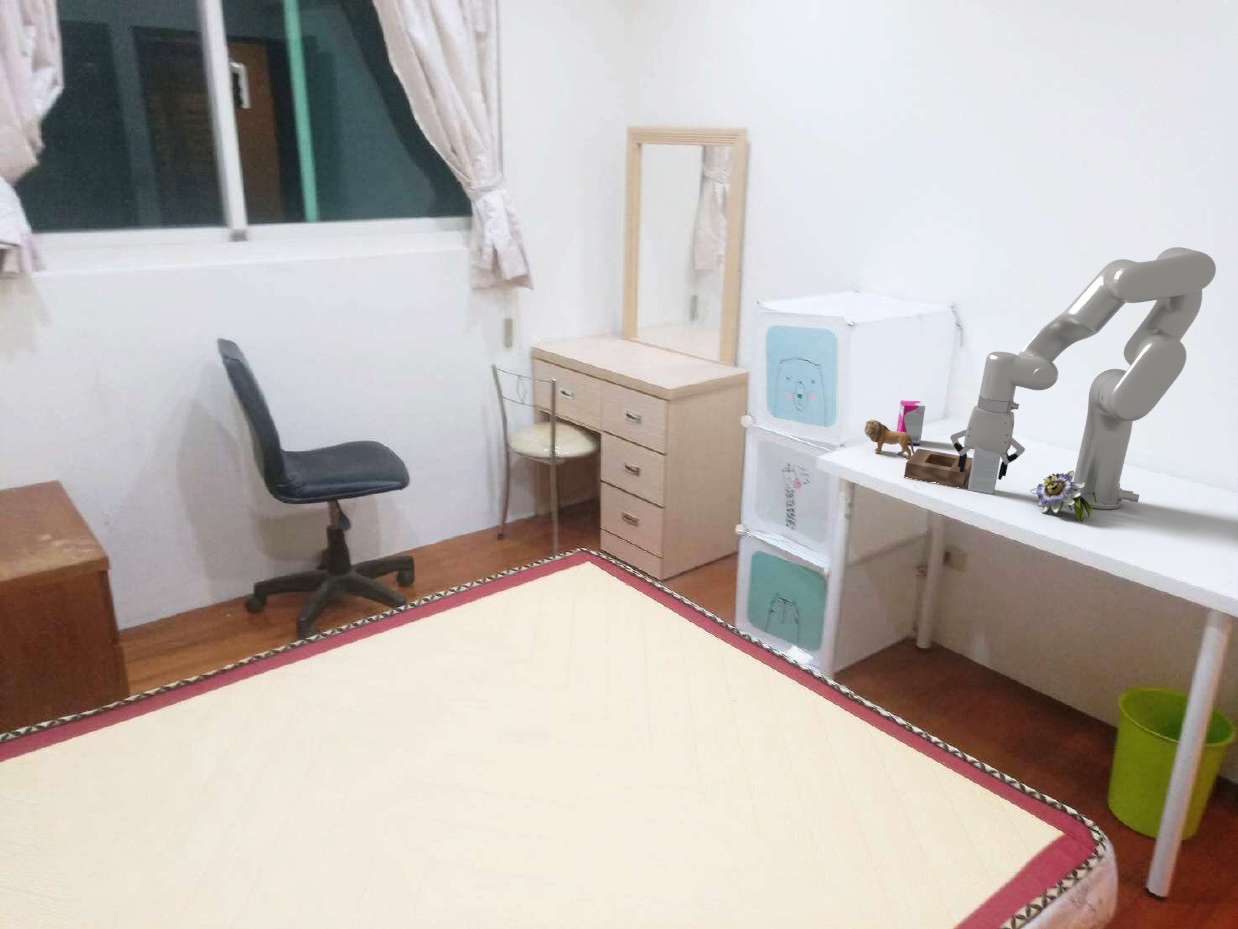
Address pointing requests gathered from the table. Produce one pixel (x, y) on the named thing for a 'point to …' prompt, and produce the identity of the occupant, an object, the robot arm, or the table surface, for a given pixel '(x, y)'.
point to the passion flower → (1062, 494)
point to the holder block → (937, 468)
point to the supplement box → (911, 419)
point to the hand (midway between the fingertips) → (980, 474)
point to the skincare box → (984, 471)
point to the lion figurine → (887, 437)
